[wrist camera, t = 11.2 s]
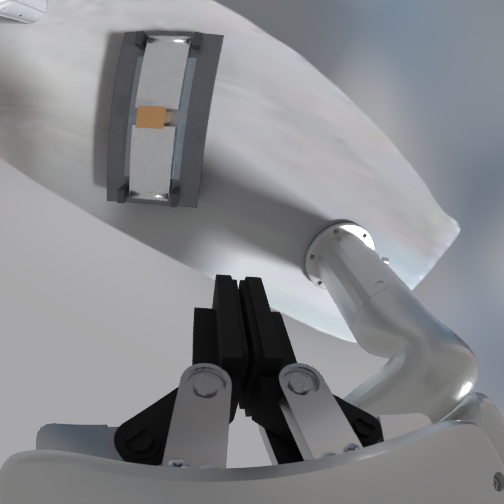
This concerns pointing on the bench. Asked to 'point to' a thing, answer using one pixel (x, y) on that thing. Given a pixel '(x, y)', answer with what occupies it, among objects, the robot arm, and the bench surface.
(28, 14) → the photo printer
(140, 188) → the strap
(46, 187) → the bench surface
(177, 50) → the strap
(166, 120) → the tray
